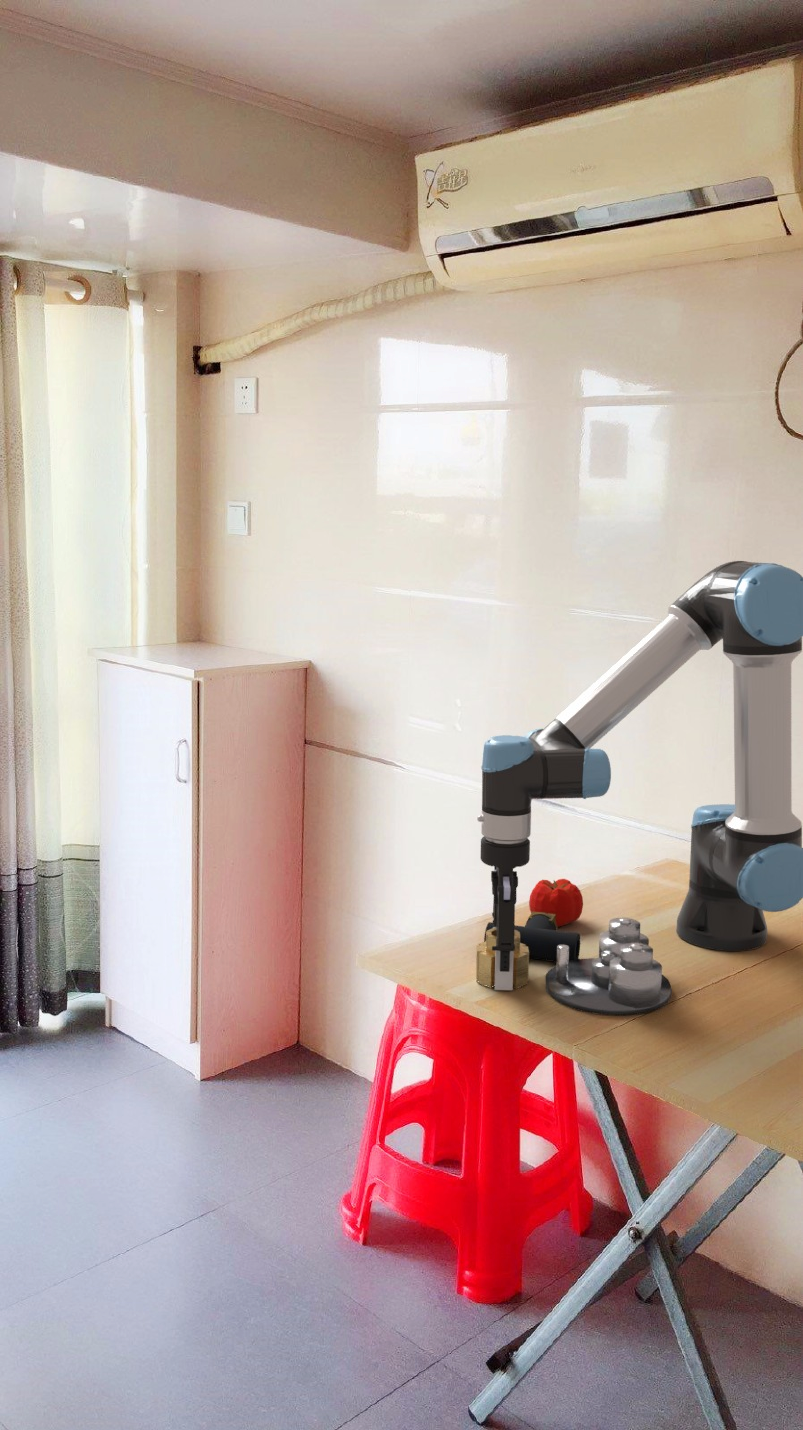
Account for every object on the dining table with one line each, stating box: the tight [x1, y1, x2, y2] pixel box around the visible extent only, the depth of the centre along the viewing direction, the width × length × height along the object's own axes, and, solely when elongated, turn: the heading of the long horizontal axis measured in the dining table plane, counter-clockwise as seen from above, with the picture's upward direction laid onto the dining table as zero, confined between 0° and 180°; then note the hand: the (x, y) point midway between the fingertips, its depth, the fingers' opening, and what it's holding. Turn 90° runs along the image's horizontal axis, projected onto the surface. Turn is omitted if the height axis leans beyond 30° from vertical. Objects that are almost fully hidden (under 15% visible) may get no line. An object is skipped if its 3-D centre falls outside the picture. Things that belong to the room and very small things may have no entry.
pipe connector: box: [483, 912, 581, 963], centre depth 194 cm, size 12×5×15 cm
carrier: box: [544, 917, 672, 1017], centre depth 178 cm, size 19×19×9 cm
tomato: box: [528, 878, 584, 928], centre depth 207 cm, size 9×9×8 cm
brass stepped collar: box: [475, 928, 530, 989], centre depth 181 cm, size 8×8×8 cm
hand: (501, 977), depth 182 cm, fingers closed on brass stepped collar, 8 cm apart
